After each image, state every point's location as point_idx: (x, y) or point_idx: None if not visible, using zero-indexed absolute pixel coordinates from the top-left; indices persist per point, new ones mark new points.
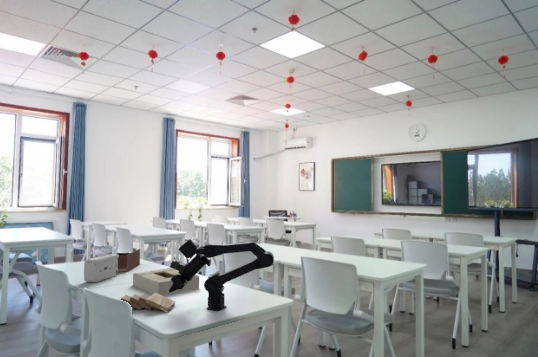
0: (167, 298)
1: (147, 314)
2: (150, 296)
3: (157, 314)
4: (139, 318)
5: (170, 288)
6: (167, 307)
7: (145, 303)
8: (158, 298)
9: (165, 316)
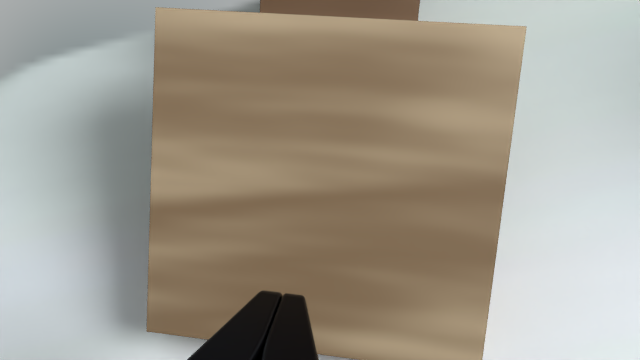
0: (473, 249)
1: (139, 117)
2: (288, 14)
3: (113, 215)
4: (40, 77)
5: (205, 350)
6: (163, 309)
7: None
8: (335, 134)
9: (19, 318)
